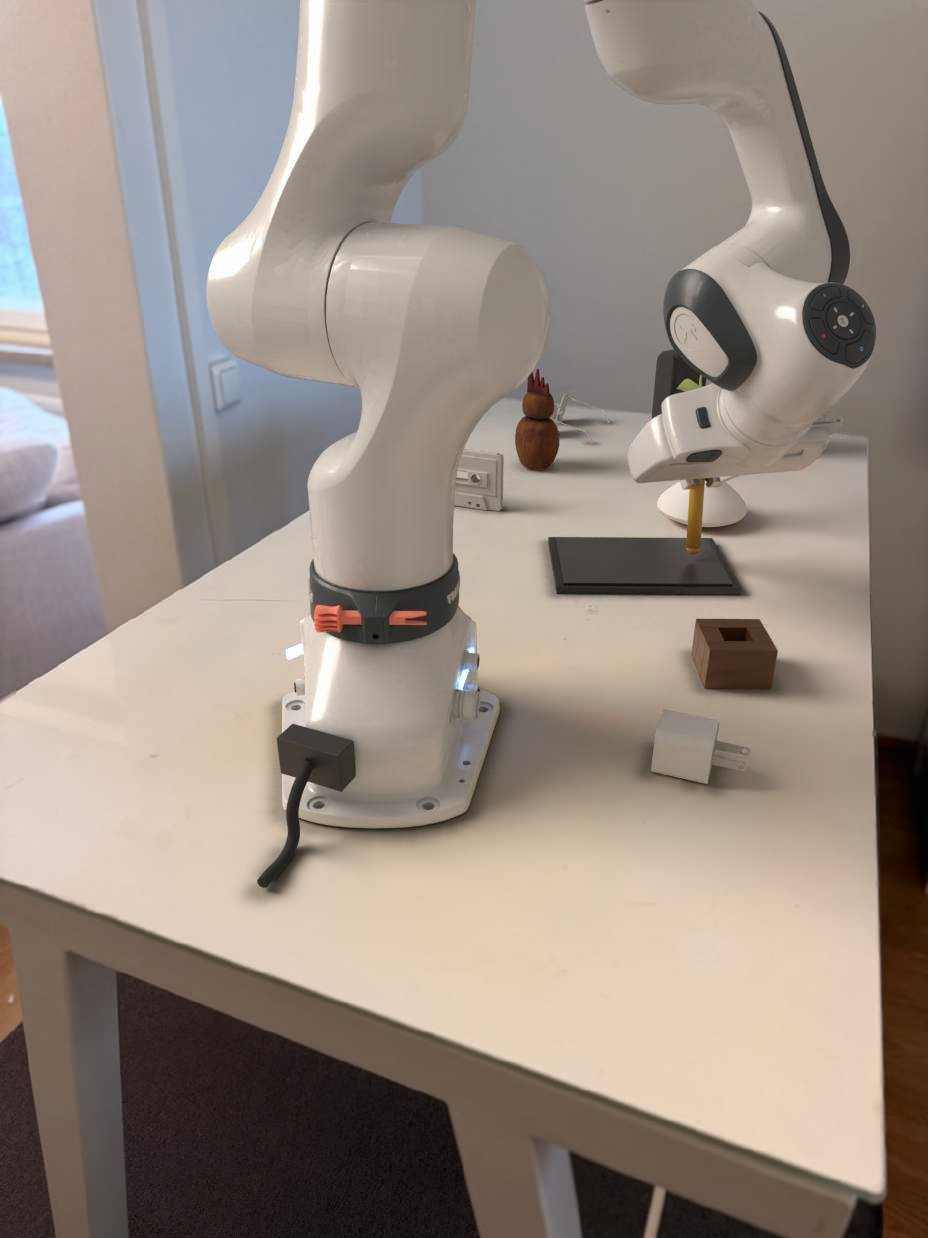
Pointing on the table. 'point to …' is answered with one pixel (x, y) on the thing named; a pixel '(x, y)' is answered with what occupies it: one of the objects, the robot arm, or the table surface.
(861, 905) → the table surface
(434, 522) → the robot arm
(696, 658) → the pen holder
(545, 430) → the wooden figurine
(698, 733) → the usb wall charger
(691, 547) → the stylus
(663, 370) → the card reader
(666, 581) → the tablet
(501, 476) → the cassette
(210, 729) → the table surface
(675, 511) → the flower in vase
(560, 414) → the clear eyeglasses
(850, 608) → the table surface
